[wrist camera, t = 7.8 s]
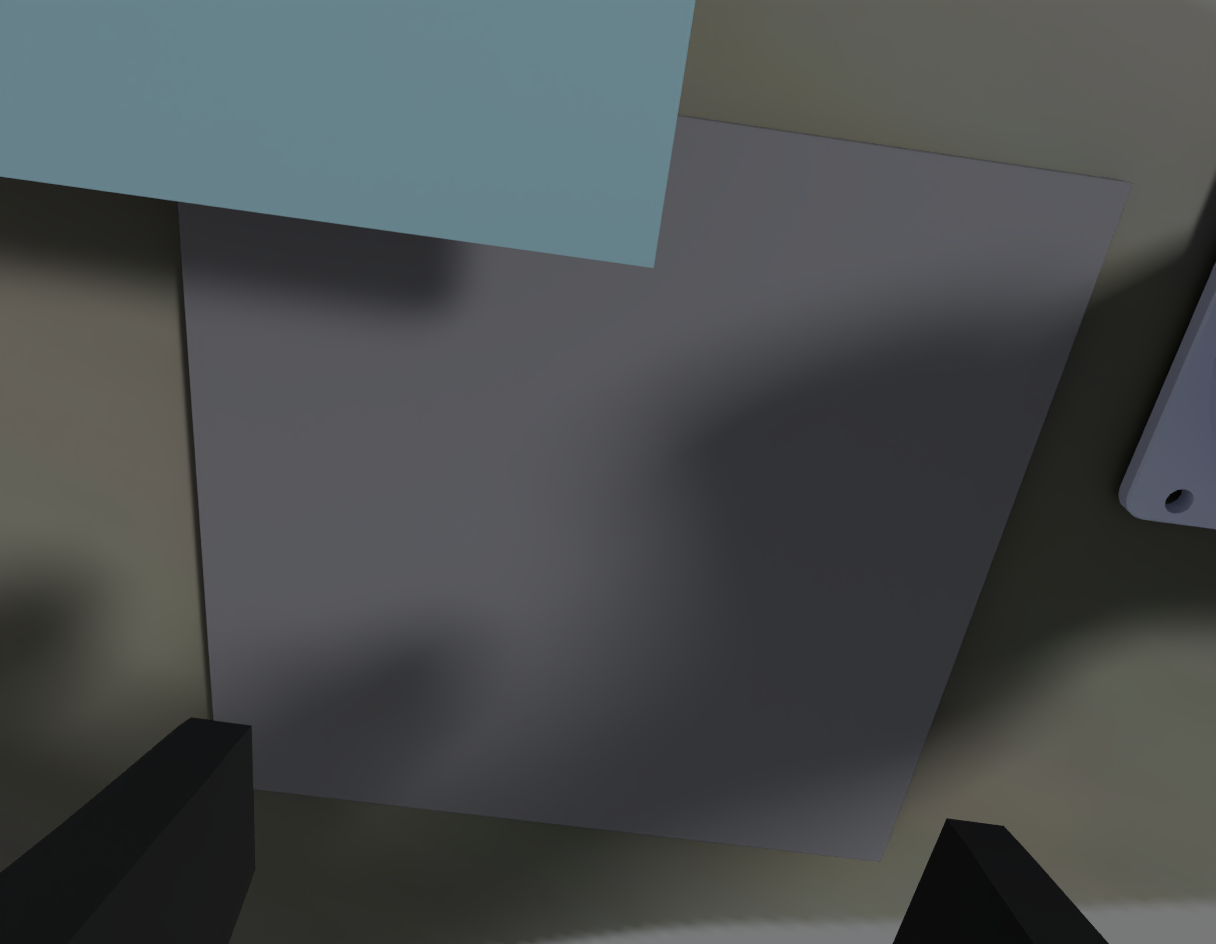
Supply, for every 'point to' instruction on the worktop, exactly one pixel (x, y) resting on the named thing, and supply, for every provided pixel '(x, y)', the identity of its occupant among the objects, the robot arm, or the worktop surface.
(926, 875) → the robot arm
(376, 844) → the worktop surface
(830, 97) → the worktop surface
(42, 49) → the cover sheet
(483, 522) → the mat
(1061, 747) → the worktop surface
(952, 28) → the worktop surface
